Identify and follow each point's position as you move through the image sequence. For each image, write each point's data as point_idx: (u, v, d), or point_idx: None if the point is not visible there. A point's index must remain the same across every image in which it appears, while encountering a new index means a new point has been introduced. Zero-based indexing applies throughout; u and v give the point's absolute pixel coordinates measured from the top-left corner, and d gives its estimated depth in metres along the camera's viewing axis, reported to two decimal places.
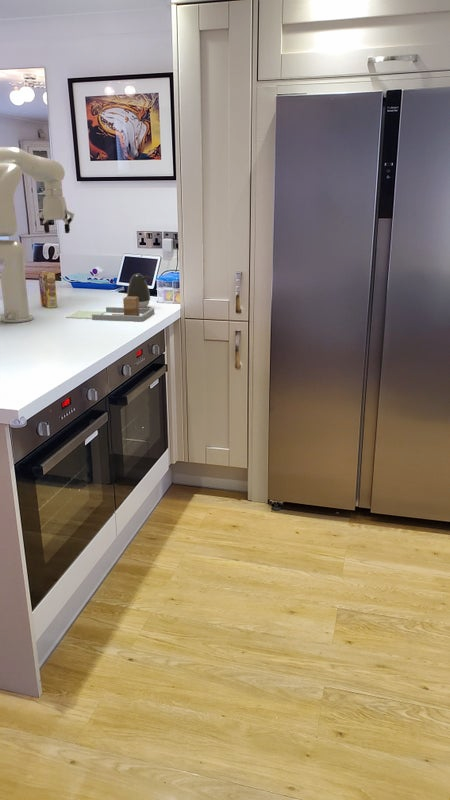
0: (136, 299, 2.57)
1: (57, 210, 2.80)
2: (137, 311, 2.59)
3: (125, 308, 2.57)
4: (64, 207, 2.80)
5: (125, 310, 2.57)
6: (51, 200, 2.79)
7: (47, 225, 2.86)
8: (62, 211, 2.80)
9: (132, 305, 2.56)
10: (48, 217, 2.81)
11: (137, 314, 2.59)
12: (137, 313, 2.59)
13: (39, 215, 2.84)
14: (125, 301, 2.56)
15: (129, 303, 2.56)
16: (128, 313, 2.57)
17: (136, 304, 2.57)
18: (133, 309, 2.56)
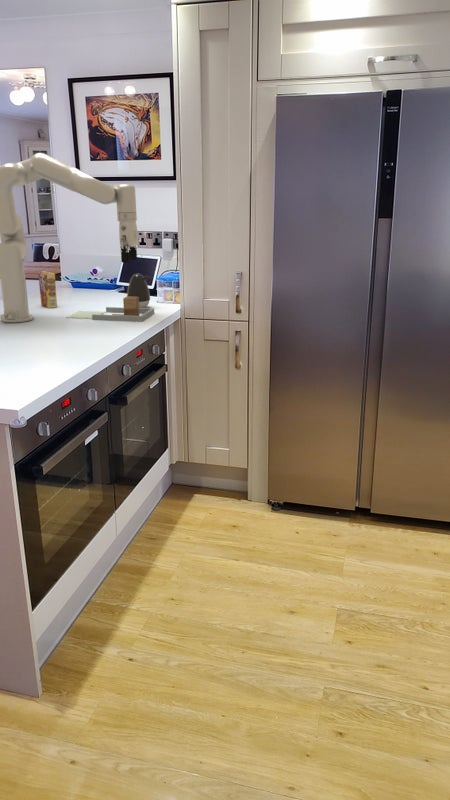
0: (136, 299, 2.57)
1: (136, 235, 2.51)
2: (137, 311, 2.59)
3: (125, 308, 2.57)
4: None
5: (125, 310, 2.57)
6: (134, 225, 2.48)
7: None
8: (137, 236, 2.53)
9: (132, 305, 2.56)
10: (133, 244, 2.48)
11: (137, 314, 2.59)
12: (137, 313, 2.59)
13: (123, 243, 2.43)
14: (125, 301, 2.56)
15: (129, 303, 2.56)
16: (128, 313, 2.57)
17: (136, 304, 2.57)
18: (133, 309, 2.56)
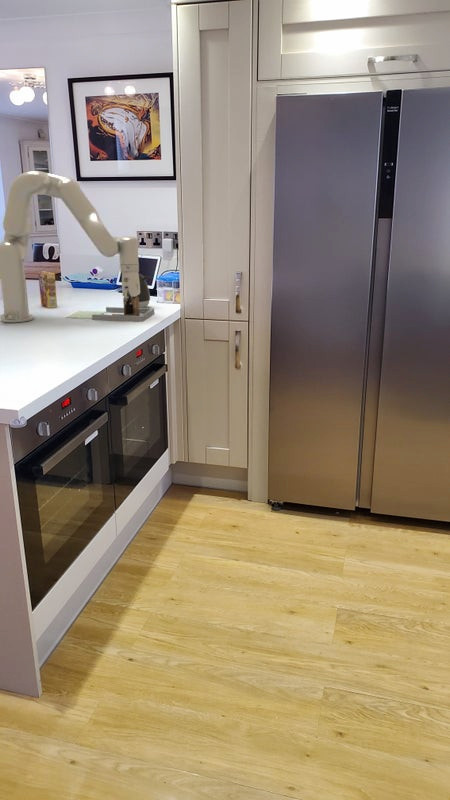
0: (136, 299, 2.57)
1: (138, 285, 2.58)
2: (137, 311, 2.59)
3: None
4: None
5: None
6: (136, 276, 2.54)
7: None
8: (139, 285, 2.60)
9: None
10: (135, 294, 2.54)
11: (137, 314, 2.59)
12: (137, 313, 2.59)
13: (127, 297, 2.51)
14: None
15: None
16: None
17: (136, 304, 2.57)
18: (133, 309, 2.56)
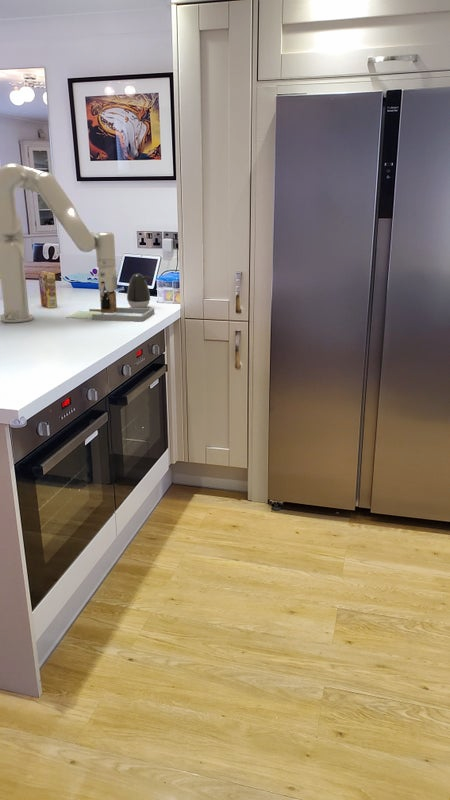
0: (113, 294, 2.58)
1: (115, 280, 2.59)
2: (114, 306, 2.60)
3: None
4: None
5: None
6: (113, 271, 2.55)
7: None
8: (116, 280, 2.61)
9: None
10: (112, 289, 2.55)
11: (114, 309, 2.60)
12: (114, 308, 2.60)
13: (103, 292, 2.52)
14: None
15: None
16: None
17: (113, 299, 2.58)
18: (110, 304, 2.57)
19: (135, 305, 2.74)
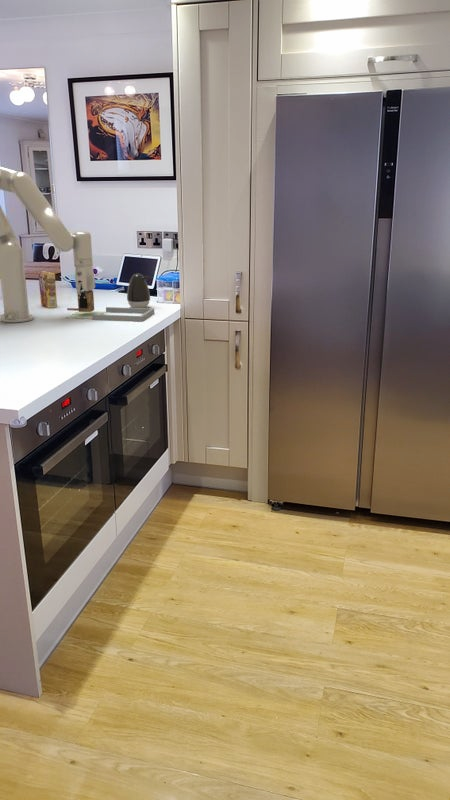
0: (90, 293, 2.59)
1: (92, 279, 2.60)
2: (91, 305, 2.62)
3: None
4: None
5: (79, 304, 2.60)
6: (90, 270, 2.57)
7: None
8: None
9: None
10: (89, 288, 2.57)
11: (92, 308, 2.62)
12: (92, 307, 2.62)
13: (80, 291, 2.54)
14: None
15: None
16: None
17: (90, 298, 2.60)
18: (87, 303, 2.59)
19: (135, 305, 2.74)
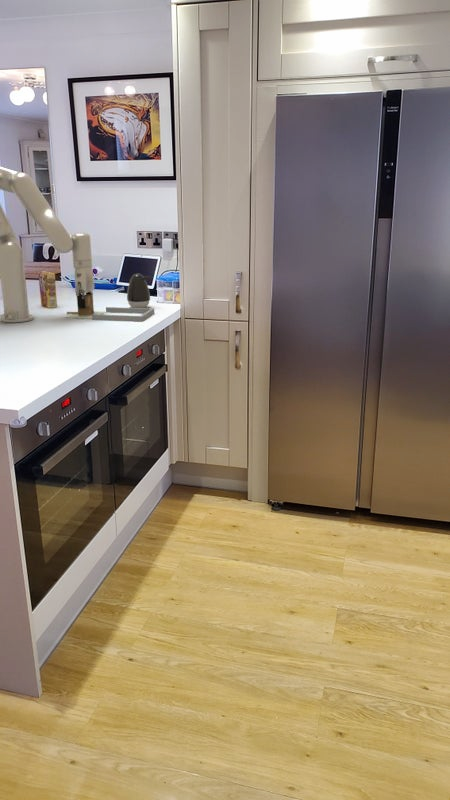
0: (90, 297, 2.60)
1: (92, 280, 2.60)
2: (91, 309, 2.62)
3: None
4: None
5: (79, 308, 2.60)
6: (89, 271, 2.57)
7: None
8: (93, 281, 2.63)
9: (86, 303, 2.59)
10: (88, 289, 2.57)
11: (91, 312, 2.62)
12: (91, 311, 2.62)
13: (79, 291, 2.53)
14: None
15: None
16: (82, 311, 2.60)
17: (90, 302, 2.60)
18: (87, 307, 2.59)
19: (135, 305, 2.74)
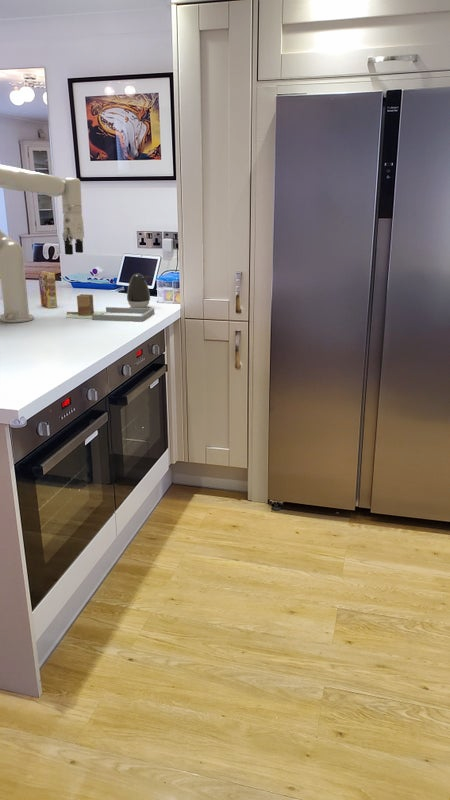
0: (90, 297, 2.60)
1: (81, 228, 2.55)
2: (91, 309, 2.62)
3: (79, 306, 2.60)
4: None
5: (79, 308, 2.60)
6: (79, 218, 2.52)
7: None
8: (83, 229, 2.57)
9: (86, 303, 2.59)
10: (77, 236, 2.52)
11: (91, 312, 2.62)
12: (91, 311, 2.62)
13: (66, 235, 2.47)
14: (79, 299, 2.59)
15: (83, 301, 2.59)
16: (82, 311, 2.60)
17: (90, 302, 2.60)
18: (87, 307, 2.59)
19: (135, 305, 2.74)
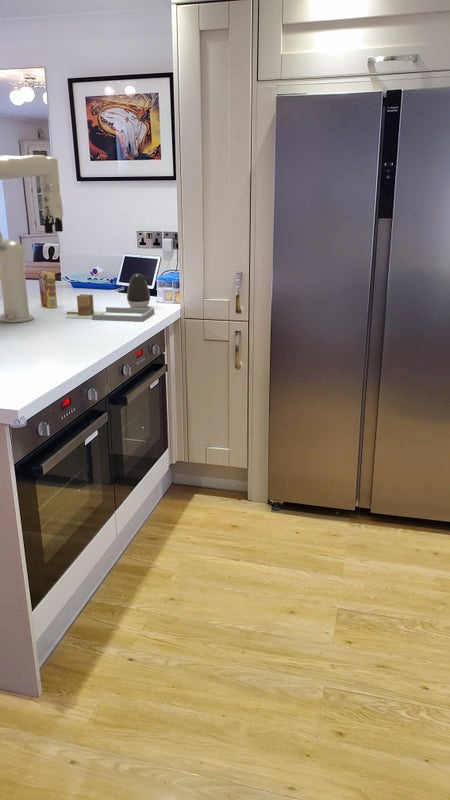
0: (90, 297, 2.60)
1: (60, 207, 2.59)
2: (91, 309, 2.62)
3: (79, 306, 2.60)
4: None
5: (79, 308, 2.60)
6: (57, 196, 2.55)
7: None
8: (62, 208, 2.61)
9: (86, 303, 2.59)
10: (56, 215, 2.55)
11: (91, 312, 2.62)
12: (91, 311, 2.62)
13: (45, 213, 2.51)
14: (79, 299, 2.59)
15: (83, 301, 2.59)
16: (82, 311, 2.60)
17: (90, 302, 2.60)
18: (87, 307, 2.59)
19: (135, 305, 2.74)
